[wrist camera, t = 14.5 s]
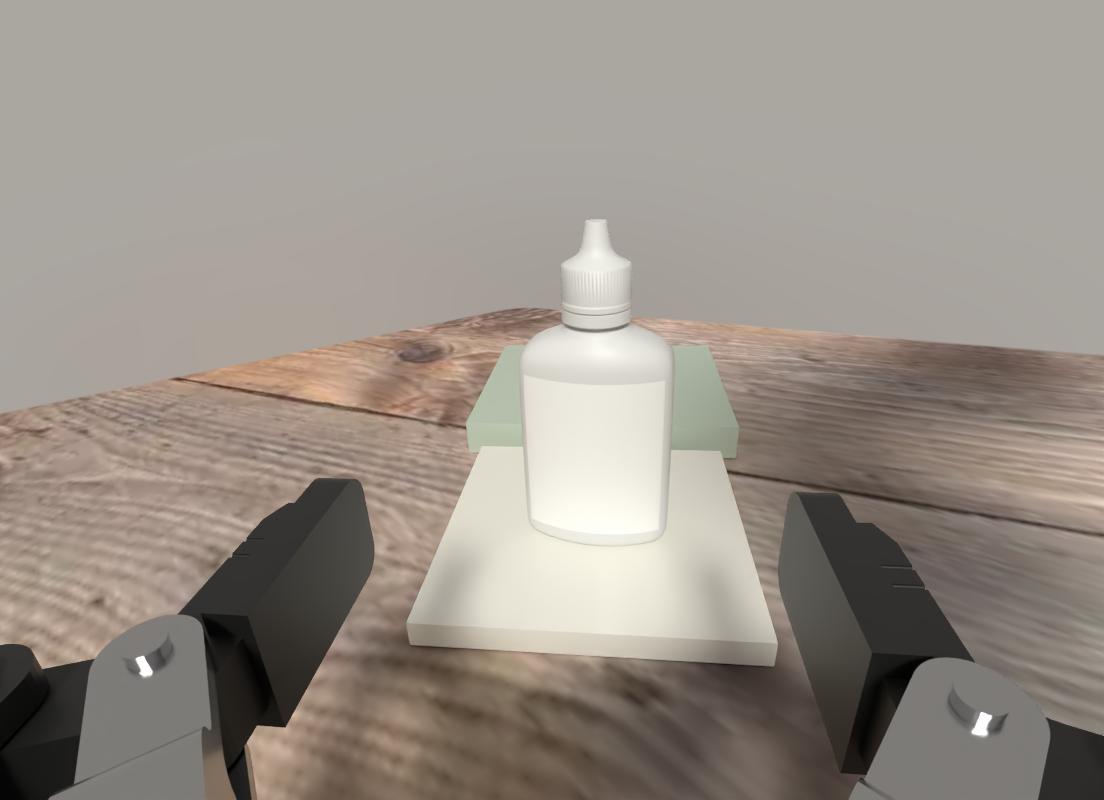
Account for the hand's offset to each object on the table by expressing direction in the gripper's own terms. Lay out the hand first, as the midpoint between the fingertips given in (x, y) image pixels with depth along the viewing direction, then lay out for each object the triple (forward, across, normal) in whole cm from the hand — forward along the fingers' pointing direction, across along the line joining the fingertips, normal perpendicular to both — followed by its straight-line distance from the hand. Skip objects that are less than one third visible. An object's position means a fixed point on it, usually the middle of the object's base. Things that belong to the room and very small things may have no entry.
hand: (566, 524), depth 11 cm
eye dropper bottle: (+11, 0, +8) cm, 14 cm away
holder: (+24, 0, +9) cm, 26 cm away
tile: (+11, 0, +9) cm, 14 cm away
